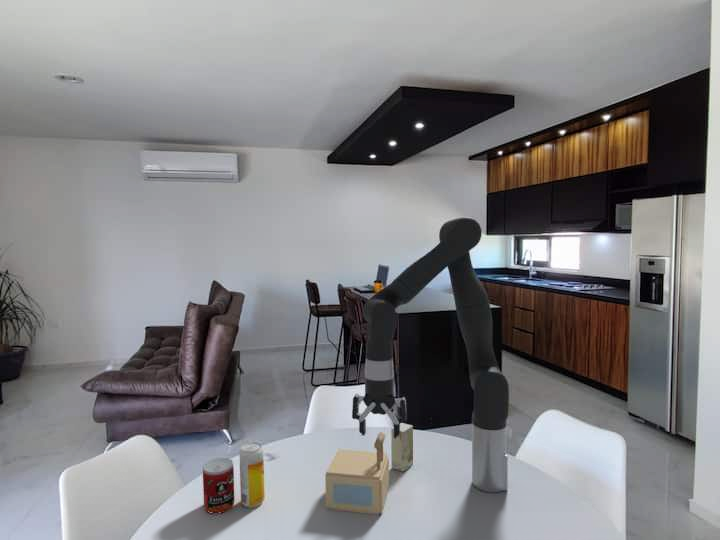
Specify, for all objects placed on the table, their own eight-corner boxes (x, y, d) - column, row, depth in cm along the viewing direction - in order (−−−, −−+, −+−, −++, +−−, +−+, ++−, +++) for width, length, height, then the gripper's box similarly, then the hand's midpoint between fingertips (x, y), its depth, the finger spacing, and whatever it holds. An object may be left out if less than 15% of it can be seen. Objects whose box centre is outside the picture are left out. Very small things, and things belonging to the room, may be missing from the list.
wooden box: (389, 487, 122) (388, 455, 121) (381, 515, 109) (381, 480, 108) (338, 482, 125) (338, 451, 124) (325, 509, 112) (325, 475, 111)
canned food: (206, 518, 109) (205, 475, 108) (201, 502, 116) (200, 461, 115) (237, 509, 112) (236, 467, 112) (231, 494, 120) (230, 455, 119)
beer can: (269, 498, 117) (267, 444, 116) (254, 511, 112) (253, 453, 111) (251, 493, 120) (249, 440, 119) (236, 505, 114) (234, 449, 113)
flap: (387, 455, 121) (387, 427, 121) (380, 479, 109) (379, 448, 108) (338, 451, 124) (338, 424, 124) (326, 474, 111) (325, 444, 111)
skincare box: (403, 472, 130) (402, 432, 129) (390, 468, 132) (390, 428, 132) (414, 463, 135) (413, 425, 134) (402, 459, 137) (401, 421, 137)
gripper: (407, 372, 116) (407, 432, 117) (355, 369, 119) (356, 427, 120) (404, 380, 109) (404, 444, 110) (349, 377, 112) (349, 439, 113)
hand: (379, 435), depth 115 cm, fingers open, 8 cm apart
